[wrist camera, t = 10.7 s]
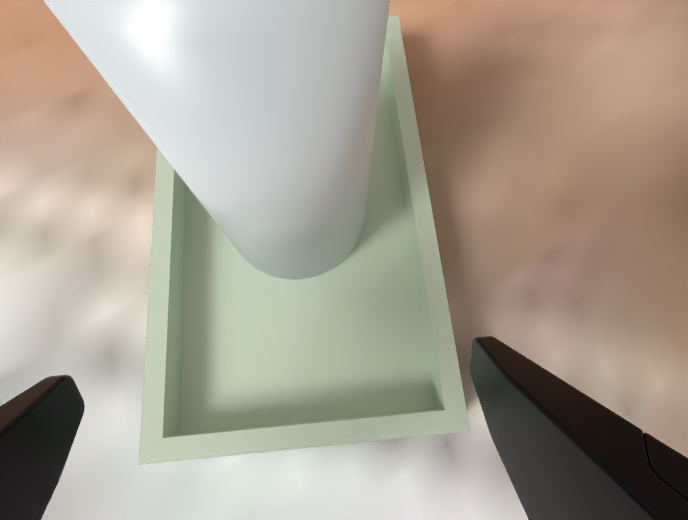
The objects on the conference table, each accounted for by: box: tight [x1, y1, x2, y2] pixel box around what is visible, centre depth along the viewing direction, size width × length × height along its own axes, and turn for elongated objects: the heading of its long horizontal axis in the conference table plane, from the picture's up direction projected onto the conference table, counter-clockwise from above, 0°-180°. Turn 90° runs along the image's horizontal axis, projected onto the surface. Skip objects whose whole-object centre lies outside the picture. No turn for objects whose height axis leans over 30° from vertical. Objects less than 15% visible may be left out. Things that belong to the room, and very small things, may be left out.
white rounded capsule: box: [44, 0, 390, 280], centre depth 13 cm, size 6×6×13 cm
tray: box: [139, 16, 470, 465], centre depth 19 cm, size 20×12×2 cm, turn 5°
